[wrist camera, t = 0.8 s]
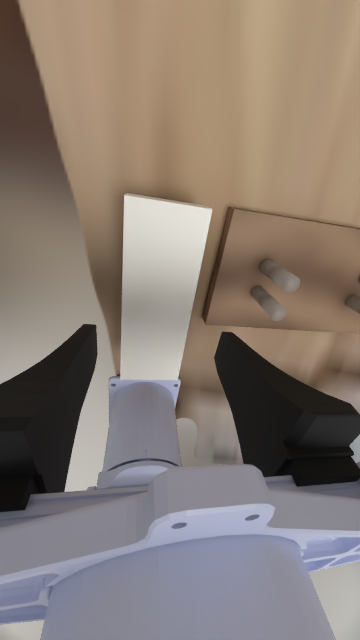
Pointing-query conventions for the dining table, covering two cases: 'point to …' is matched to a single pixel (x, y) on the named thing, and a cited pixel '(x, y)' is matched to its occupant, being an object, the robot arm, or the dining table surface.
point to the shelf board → (159, 283)
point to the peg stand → (285, 274)
